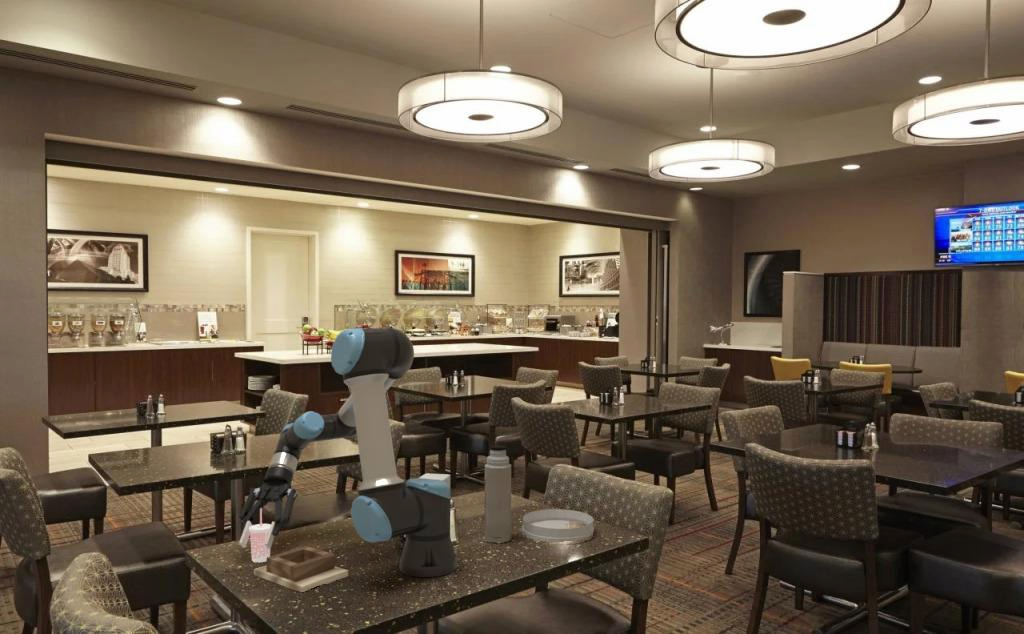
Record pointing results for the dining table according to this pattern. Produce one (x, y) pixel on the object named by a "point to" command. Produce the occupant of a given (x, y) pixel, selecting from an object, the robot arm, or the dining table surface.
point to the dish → (556, 525)
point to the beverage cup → (259, 541)
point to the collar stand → (301, 569)
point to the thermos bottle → (497, 495)
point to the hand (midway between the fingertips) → (254, 545)
